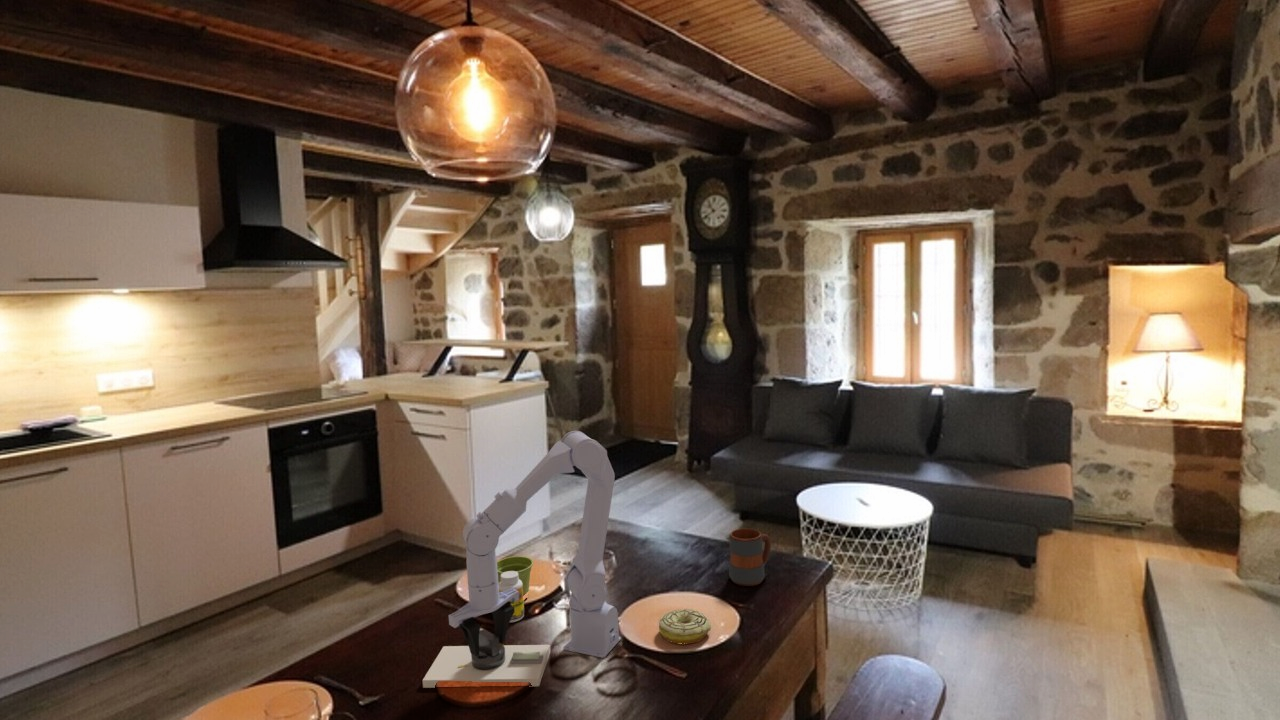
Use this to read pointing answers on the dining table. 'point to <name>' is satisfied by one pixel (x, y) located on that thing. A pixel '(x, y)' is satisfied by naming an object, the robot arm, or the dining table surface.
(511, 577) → the supplement bottle
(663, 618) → the decorated donut
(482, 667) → the knob
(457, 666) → the base plate
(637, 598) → the dining table surface
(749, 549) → the mug
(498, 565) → the plant pot
